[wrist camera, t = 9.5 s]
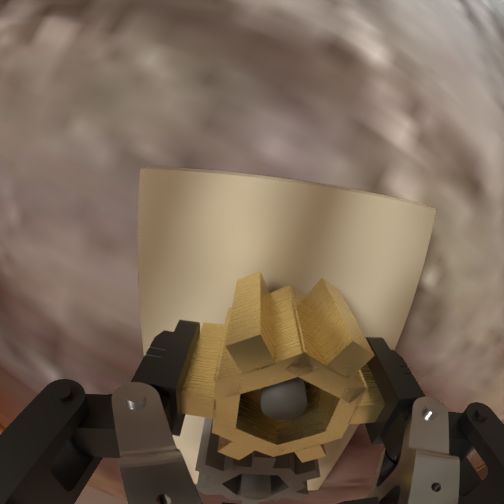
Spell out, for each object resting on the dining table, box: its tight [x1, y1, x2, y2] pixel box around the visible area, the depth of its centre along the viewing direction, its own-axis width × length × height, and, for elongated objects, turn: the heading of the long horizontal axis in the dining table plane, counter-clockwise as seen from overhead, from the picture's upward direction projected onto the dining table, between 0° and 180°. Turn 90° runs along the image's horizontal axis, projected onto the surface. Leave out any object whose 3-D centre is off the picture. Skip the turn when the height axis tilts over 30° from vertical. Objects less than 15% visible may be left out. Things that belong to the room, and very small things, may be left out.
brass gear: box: [181, 271, 385, 463], centre depth 9 cm, size 6×6×4 cm
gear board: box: [138, 167, 437, 504], centre depth 12 cm, size 12×22×6 cm, turn 174°
